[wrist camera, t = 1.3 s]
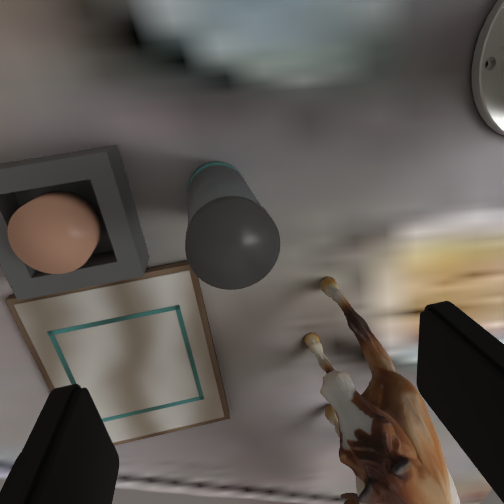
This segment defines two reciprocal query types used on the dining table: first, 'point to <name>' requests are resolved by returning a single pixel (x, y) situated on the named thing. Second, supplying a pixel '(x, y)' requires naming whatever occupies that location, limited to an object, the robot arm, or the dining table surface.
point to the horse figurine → (382, 425)
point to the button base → (98, 195)
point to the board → (131, 350)
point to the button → (55, 232)
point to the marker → (228, 229)
